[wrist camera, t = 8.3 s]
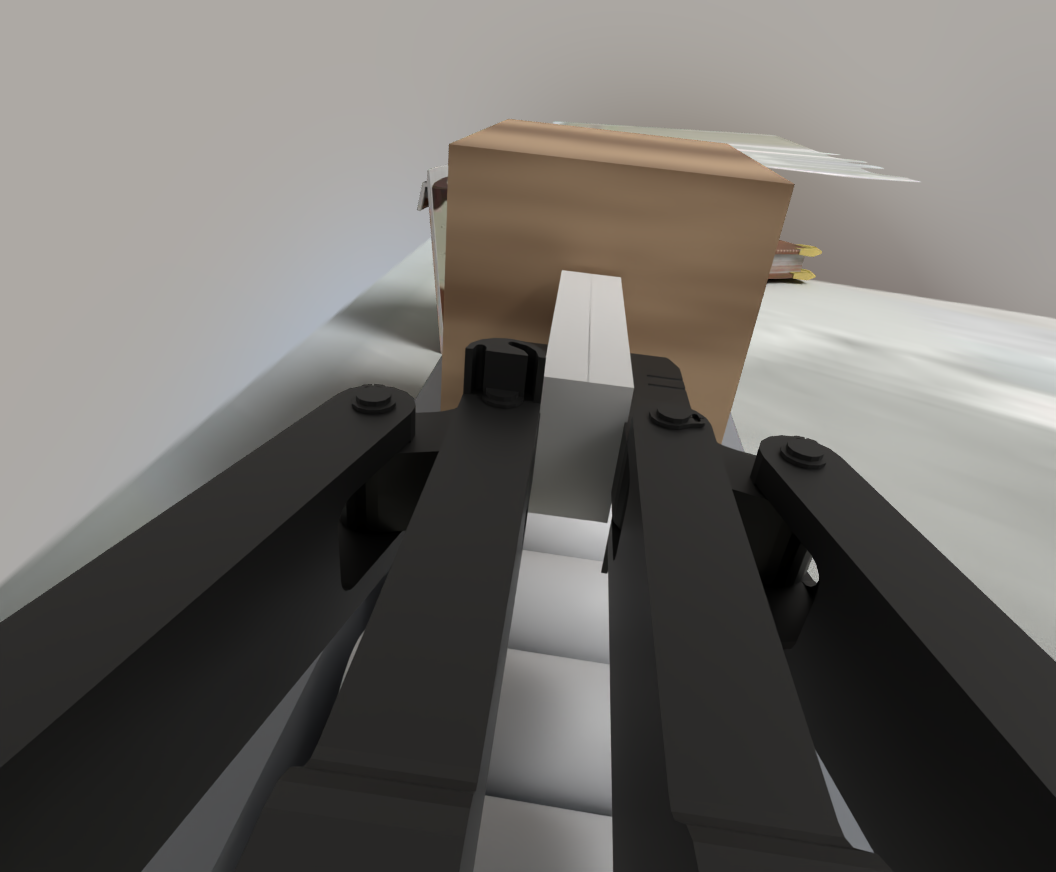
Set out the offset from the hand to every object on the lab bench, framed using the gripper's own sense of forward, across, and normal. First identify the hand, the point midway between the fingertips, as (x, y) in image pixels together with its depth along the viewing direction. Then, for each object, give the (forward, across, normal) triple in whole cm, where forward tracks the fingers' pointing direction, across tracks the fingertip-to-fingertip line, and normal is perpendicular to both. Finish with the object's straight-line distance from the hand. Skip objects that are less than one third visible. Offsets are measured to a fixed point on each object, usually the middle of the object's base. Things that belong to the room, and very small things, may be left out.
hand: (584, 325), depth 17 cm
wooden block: (+5, 0, -5) cm, 7 cm away
